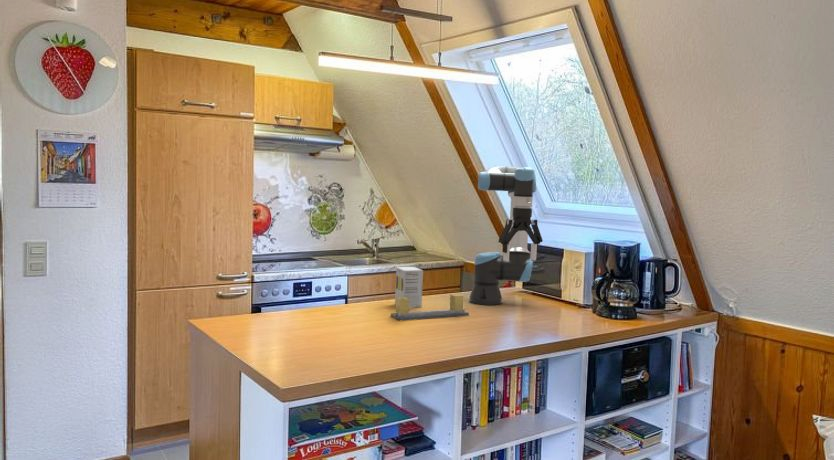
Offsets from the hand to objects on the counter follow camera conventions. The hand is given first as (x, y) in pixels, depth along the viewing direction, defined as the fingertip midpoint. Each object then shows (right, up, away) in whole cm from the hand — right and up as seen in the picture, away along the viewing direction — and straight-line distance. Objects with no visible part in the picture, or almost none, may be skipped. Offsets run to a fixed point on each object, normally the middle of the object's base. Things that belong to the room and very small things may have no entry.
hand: (519, 260), depth 253 cm
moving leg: (-48, -22, +3) cm, 53 cm away
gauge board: (-36, -23, +9) cm, 44 cm away
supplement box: (-45, -22, +27) cm, 57 cm away
